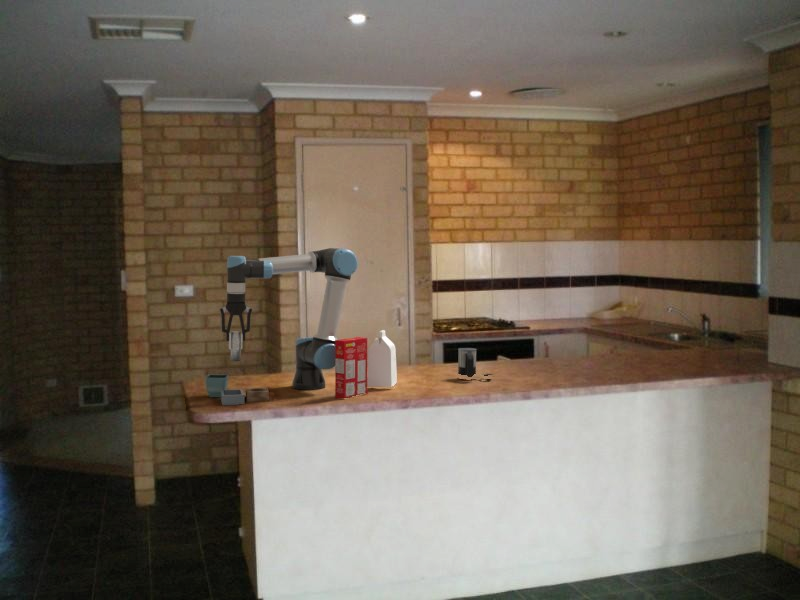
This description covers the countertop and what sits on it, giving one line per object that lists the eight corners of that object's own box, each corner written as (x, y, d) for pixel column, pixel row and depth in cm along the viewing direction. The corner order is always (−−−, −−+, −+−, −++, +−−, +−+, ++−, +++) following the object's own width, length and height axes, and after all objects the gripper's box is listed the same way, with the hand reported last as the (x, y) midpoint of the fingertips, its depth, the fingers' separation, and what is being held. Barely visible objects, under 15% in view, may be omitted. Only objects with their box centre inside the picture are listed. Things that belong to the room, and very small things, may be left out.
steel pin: (240, 359, 357) (240, 331, 356) (240, 361, 353) (241, 332, 352) (230, 359, 356) (230, 331, 355) (231, 361, 352) (231, 332, 351)
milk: (391, 389, 384) (392, 332, 382) (367, 388, 386) (367, 332, 384) (397, 385, 396) (397, 329, 393) (373, 384, 398) (373, 329, 396)
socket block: (266, 396, 366) (266, 387, 366) (268, 400, 358) (268, 391, 357) (245, 397, 364) (245, 388, 364) (247, 401, 355) (247, 392, 355)
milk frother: (454, 378, 415) (454, 348, 414) (482, 376, 421) (482, 346, 420) (467, 383, 402) (468, 352, 401) (496, 380, 408) (497, 350, 407)
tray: (242, 398, 363) (242, 389, 362) (244, 404, 350) (244, 394, 350) (220, 399, 360) (220, 389, 360) (222, 405, 348) (222, 395, 348)
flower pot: (229, 394, 371) (228, 374, 370) (225, 398, 362) (225, 377, 361) (208, 394, 370) (208, 374, 370) (204, 398, 362) (204, 377, 361)
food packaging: (358, 392, 376) (358, 336, 374) (367, 394, 373) (367, 338, 371) (335, 397, 365) (335, 340, 363) (344, 399, 362) (344, 341, 360)
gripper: (256, 292, 358) (255, 347, 360) (214, 292, 354) (214, 347, 356) (257, 293, 351) (257, 349, 353) (215, 293, 347) (215, 350, 349)
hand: (235, 348), depth 354 cm, fingers closed on steel pin, 4 cm apart
